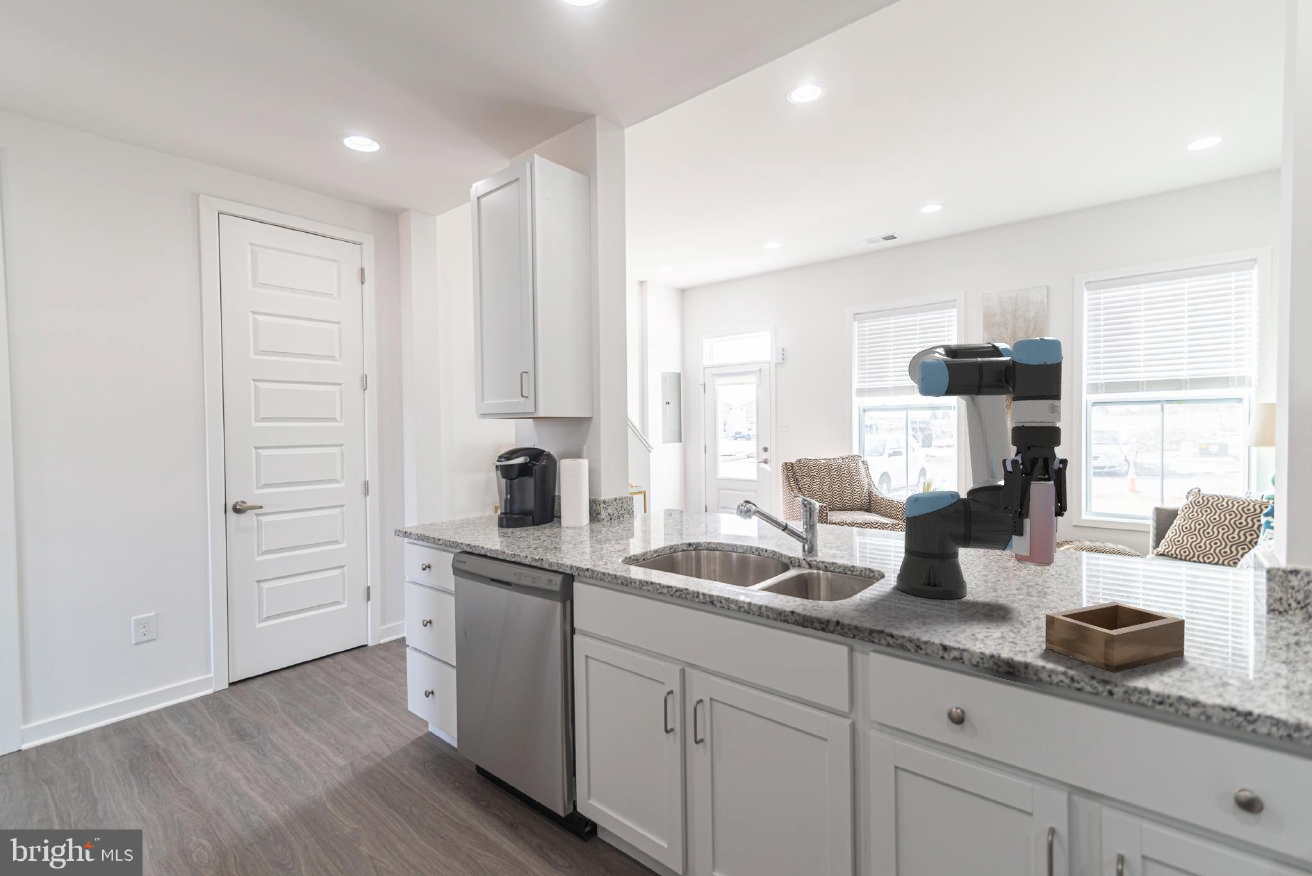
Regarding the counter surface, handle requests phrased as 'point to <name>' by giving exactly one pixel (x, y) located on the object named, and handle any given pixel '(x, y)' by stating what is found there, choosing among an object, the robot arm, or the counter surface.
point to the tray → (1115, 635)
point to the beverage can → (1040, 525)
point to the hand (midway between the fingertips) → (1034, 552)
